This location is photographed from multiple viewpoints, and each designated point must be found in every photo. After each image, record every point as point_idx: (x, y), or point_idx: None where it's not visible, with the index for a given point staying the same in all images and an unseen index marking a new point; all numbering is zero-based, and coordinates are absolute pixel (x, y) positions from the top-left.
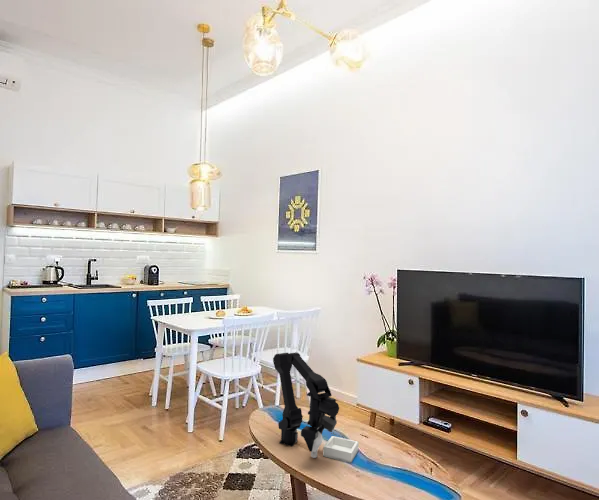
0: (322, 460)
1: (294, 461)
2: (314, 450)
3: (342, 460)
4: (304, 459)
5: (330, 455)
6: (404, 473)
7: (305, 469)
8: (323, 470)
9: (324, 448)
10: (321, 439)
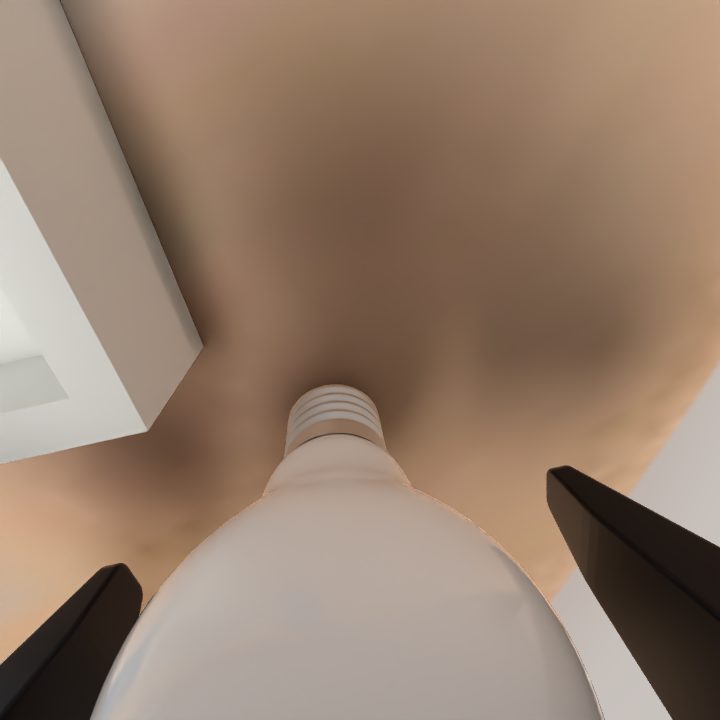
0: (317, 286)
1: (546, 501)
2: (398, 466)
3: None
4: (446, 460)
5: (137, 235)
6: None
7: (669, 326)
8: (595, 95)
9: (151, 393)
10: (345, 626)
